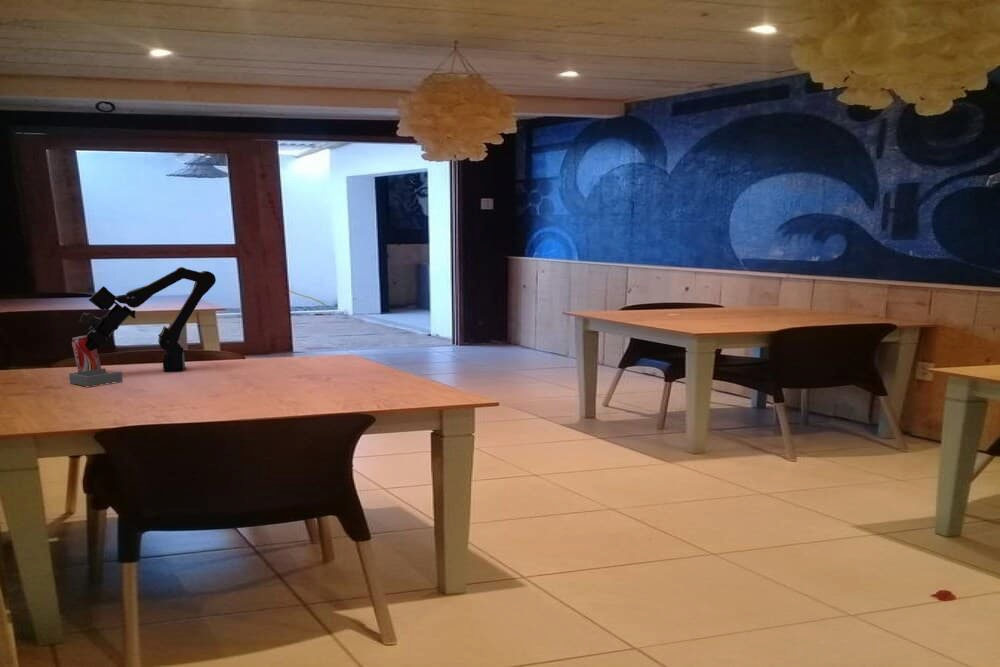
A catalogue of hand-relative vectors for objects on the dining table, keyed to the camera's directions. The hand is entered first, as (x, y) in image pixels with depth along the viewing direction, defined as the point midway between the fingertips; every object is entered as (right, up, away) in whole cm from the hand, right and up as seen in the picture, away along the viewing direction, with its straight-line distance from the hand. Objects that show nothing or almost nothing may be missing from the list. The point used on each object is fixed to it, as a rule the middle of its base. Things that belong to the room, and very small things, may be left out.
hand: (80, 353), depth 265 cm
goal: (+10, -9, -8) cm, 16 cm away
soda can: (+3, -7, +2) cm, 8 cm away
